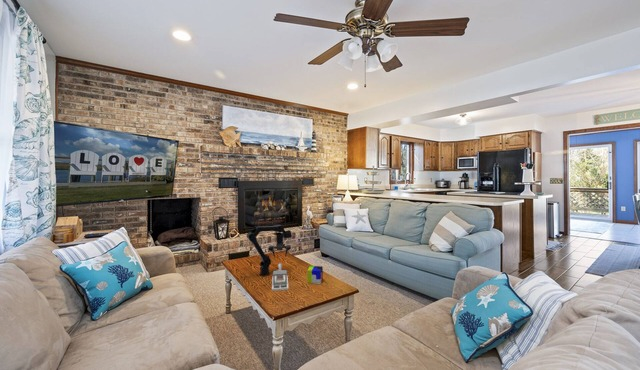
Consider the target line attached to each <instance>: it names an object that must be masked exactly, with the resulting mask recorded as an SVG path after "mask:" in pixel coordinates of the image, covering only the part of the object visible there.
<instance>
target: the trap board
mask: <svg viewBox="0 0 640 370" xmlns="http://www.w3.org/2000/svg"><path fill="white" fill-rule="evenodd" d="M276 291H277V292H278V291H289V278H288V275H287V285H286V284H285V275H284V280H276V276H275V286H273V275H272V278H271V292H276Z"/></svg>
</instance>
